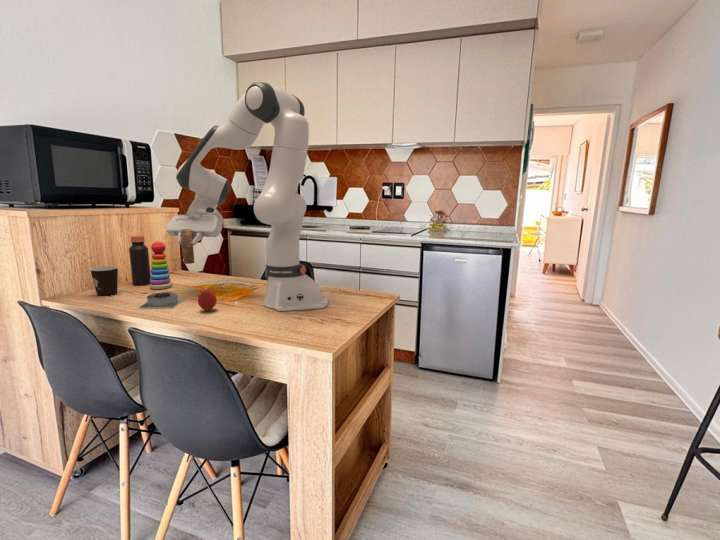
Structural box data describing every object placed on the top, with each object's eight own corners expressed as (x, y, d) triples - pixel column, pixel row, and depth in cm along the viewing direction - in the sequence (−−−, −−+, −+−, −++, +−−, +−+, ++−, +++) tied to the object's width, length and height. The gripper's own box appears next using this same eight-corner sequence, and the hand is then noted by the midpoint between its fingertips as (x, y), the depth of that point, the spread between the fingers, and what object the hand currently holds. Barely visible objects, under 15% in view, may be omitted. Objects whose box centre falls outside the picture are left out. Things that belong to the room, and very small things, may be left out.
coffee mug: (121, 295, 147) (118, 269, 145) (93, 298, 142) (90, 271, 140) (119, 288, 156) (116, 264, 154) (93, 291, 152) (89, 266, 150)
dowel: (196, 261, 145) (193, 229, 143) (192, 263, 141) (189, 230, 139) (185, 261, 145) (182, 229, 142) (181, 263, 141) (178, 230, 139)
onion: (215, 313, 128) (213, 289, 126) (196, 314, 127) (194, 290, 125) (218, 308, 133) (217, 285, 132) (200, 308, 132) (199, 285, 131)
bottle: (153, 282, 168) (149, 235, 164) (147, 285, 162) (142, 237, 157) (136, 282, 167) (131, 235, 163) (129, 286, 161) (124, 237, 157)
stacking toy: (163, 290, 155) (158, 243, 151) (145, 289, 156) (140, 242, 152) (176, 285, 162) (172, 240, 158) (159, 284, 164) (154, 239, 160)
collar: (184, 299, 143) (184, 291, 143) (173, 308, 133) (172, 299, 132) (153, 299, 143) (152, 291, 142) (139, 308, 132) (138, 300, 131)
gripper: (171, 208, 148) (155, 237, 140) (221, 209, 144) (208, 239, 137) (179, 219, 153) (165, 248, 146) (228, 220, 149) (215, 250, 142)
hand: (186, 244), depth 141 cm, fingers closed on dowel, 4 cm apart
